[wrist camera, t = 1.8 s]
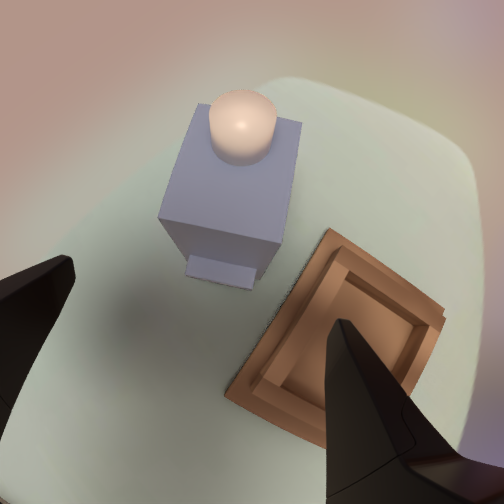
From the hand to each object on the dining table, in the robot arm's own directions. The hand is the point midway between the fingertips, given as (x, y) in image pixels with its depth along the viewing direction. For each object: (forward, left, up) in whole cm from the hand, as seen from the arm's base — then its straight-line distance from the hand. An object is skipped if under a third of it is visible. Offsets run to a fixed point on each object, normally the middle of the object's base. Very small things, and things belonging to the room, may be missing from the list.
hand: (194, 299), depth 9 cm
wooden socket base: (+1, -10, -12) cm, 15 cm away
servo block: (+6, +1, -12) cm, 13 cm away
